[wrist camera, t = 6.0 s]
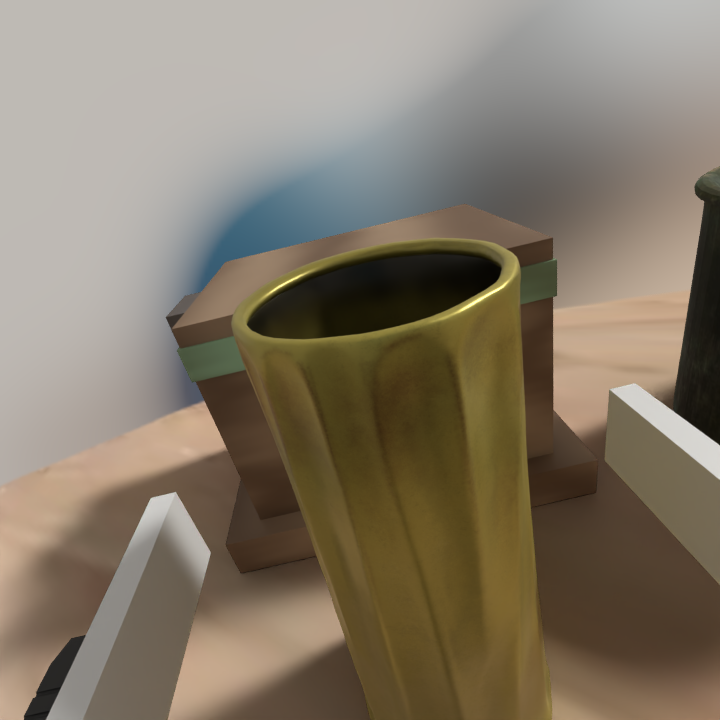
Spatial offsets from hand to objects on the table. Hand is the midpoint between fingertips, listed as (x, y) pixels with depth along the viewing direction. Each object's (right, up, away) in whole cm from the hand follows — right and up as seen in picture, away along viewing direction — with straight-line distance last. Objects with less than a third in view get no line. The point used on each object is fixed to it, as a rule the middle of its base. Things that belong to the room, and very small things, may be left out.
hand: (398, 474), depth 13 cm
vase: (+2, -7, +2) cm, 8 cm away
